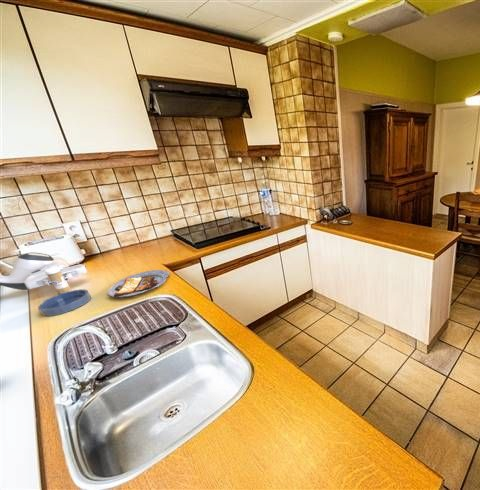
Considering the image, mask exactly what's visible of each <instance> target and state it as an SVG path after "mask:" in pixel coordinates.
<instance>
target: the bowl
mask: <svg viewBox="0 0 480 490" xmlns="http://www.w3.org/2000/svg"><path fill="white" fill-rule="evenodd" d="M91 299H92V295H91V293H90V292H89V290H88V289H85V288H84V289H83V288H81V289H74V290H73V289H72V291H69V292H65V293H62V294H57V295H54V296H52V297H50V298H47V299H46V300H44V301H42V302H41V303H40V304H39V305H38V306H37V309H38V311H39V312H40V314H41V315H42V316H45V317H50V316H56V315H57V316H58V315H61V314H65V313H67V312H70V311H73V310H75V309H77V308H80V307H82V306H83V305H85V304H87V303H88V302H89V301H90V300H91Z"/></svg>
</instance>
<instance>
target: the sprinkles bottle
mask: <svg viewBox="0 0 480 490" xmlns="http://www.w3.org/2000/svg"><path fill="white" fill-rule="evenodd" d="M45 273H46V274H47V275H48V277H49V279H50V280H51V282H52V284H51V285H52V286H53V287H54V289H55V290H56V292H57V295H59V294H62V293H65V292H69V291H73V289H71V287H70V285H69V284H68V282H67V280H65V279H64V276H63V275H62V273H61V272H60V269H59V267H52V268H48V269H46V270H45Z"/></svg>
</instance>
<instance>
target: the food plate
mask: <svg viewBox="0 0 480 490" xmlns="http://www.w3.org/2000/svg"><path fill="white" fill-rule="evenodd" d="M170 273H171V272H170V271H168V270H163V269H155V270H154V269H152V270H146V271H141V272H138V273H135V274H132V275H128V276H126V277H124V278H122V279H120V280H118V281H117V282H115V283H113V284H112V285H111V287H110V288H109V289H108V290H107V292H106V296H107V297H111V298H114V299H121V298H128V297H134V296H137V295H138V296H139V295H141V294H144V293H146V292H150V291H152V290H154V289H157V288H159V287H160V286H161V285H163V284H165V283H166V281H167V280H168V277H169V275H170Z"/></svg>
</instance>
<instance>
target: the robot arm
mask: <svg viewBox="0 0 480 490" xmlns="http://www.w3.org/2000/svg"><path fill="white" fill-rule="evenodd" d="M52 267H59V269H60V272H61V273H62V275H63V276H64V279H65V280H66V281H69V280H71V279H72V278H75V277H77V276H80V275H85V274H87V273H88V270H87V265H86V264H82V263H79V264H75V265H70V264H69V263H68V261H67V260H66V259H64V258H62V257H58V256H54V257H53V256H51V255H50V254H47V253H42V252H25V253H22V254H20V255H18V256H17V258H16V260H15V261H14V263H13V267H12V269H11V271H10V273H9V275H2V274H0V286H2V287H6V288H9V289H14V290H19V291H28V290H33V289H38V288H40V287H43V286H51V285H53V284H52V282H51V280H50V279H49V277H48V275H47V274H46V273H45V270H46V269H48V268H52Z"/></svg>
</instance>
